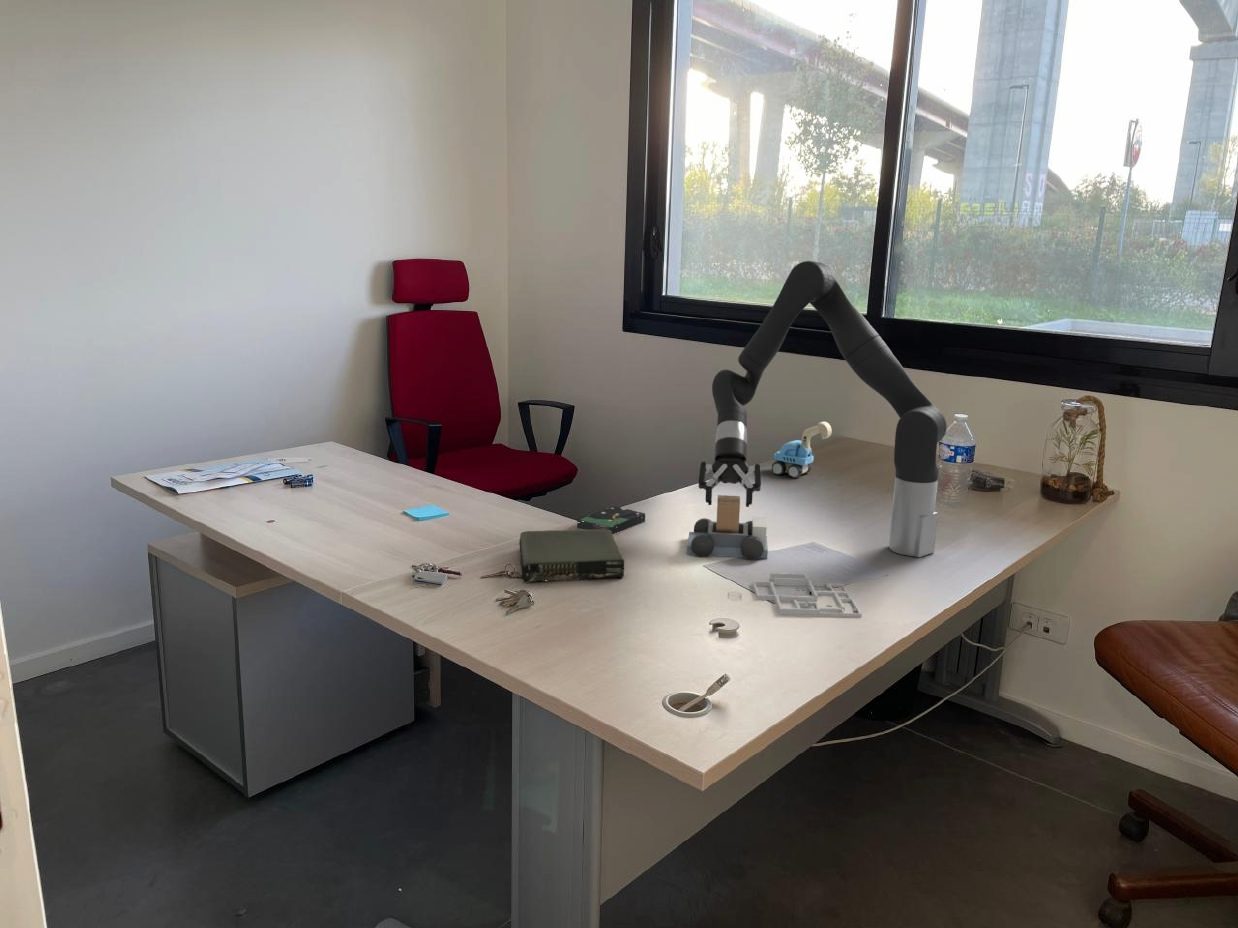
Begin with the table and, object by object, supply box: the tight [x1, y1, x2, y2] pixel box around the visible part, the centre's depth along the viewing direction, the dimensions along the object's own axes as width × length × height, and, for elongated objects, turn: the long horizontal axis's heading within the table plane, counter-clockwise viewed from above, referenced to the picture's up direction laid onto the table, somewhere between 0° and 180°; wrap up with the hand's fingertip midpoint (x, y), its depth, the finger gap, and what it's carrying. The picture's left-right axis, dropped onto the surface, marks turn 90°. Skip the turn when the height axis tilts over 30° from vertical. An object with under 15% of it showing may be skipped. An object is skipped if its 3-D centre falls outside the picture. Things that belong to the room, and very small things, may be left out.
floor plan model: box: [751, 572, 863, 618], centre depth 185 cm, size 19×25×2 cm
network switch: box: [518, 529, 625, 583], centre depth 201 cm, size 23×24×5 cm
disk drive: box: [576, 505, 646, 535], centre depth 228 cm, size 10×3×15 cm
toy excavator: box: [771, 421, 833, 479], centre depth 275 cm, size 9×17×17 cm, turn 53°
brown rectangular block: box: [716, 494, 741, 534], centre depth 210 cm, size 5×5×10 cm
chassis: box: [686, 515, 769, 561], centre depth 211 cm, size 18×13×7 cm
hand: (728, 504), depth 210 cm, fingers open, 8 cm apart
